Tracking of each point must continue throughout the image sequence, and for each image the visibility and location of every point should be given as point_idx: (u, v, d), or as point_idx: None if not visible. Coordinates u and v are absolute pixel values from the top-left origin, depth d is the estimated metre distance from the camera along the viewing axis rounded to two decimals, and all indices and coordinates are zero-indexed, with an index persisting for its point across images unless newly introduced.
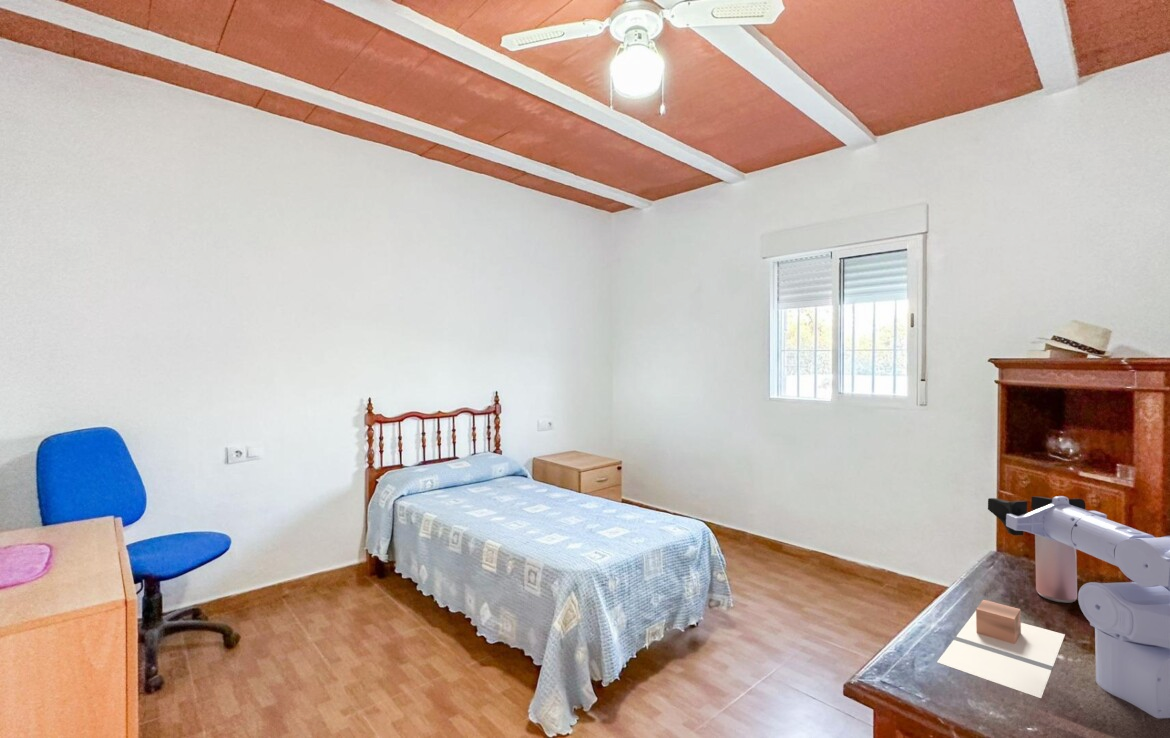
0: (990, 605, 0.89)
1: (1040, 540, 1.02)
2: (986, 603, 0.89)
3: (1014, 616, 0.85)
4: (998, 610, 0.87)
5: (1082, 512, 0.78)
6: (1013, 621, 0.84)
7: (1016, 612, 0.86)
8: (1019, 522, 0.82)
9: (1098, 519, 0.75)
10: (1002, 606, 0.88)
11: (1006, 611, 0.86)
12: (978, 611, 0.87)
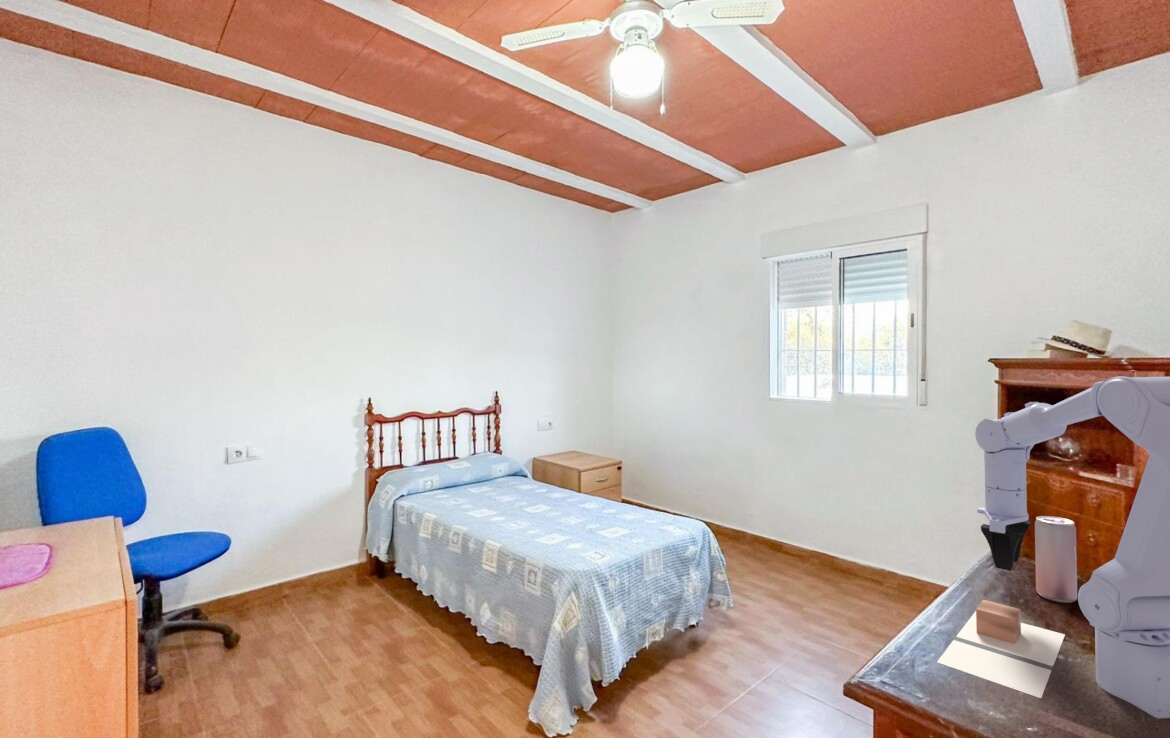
0: (990, 605, 0.89)
1: (1040, 540, 1.02)
2: (986, 603, 0.89)
3: (1014, 616, 0.85)
4: (998, 610, 0.87)
5: None
6: (1013, 621, 0.84)
7: (1016, 612, 0.86)
8: None
9: None
10: (1002, 606, 0.88)
11: (1006, 611, 0.86)
12: (978, 611, 0.87)
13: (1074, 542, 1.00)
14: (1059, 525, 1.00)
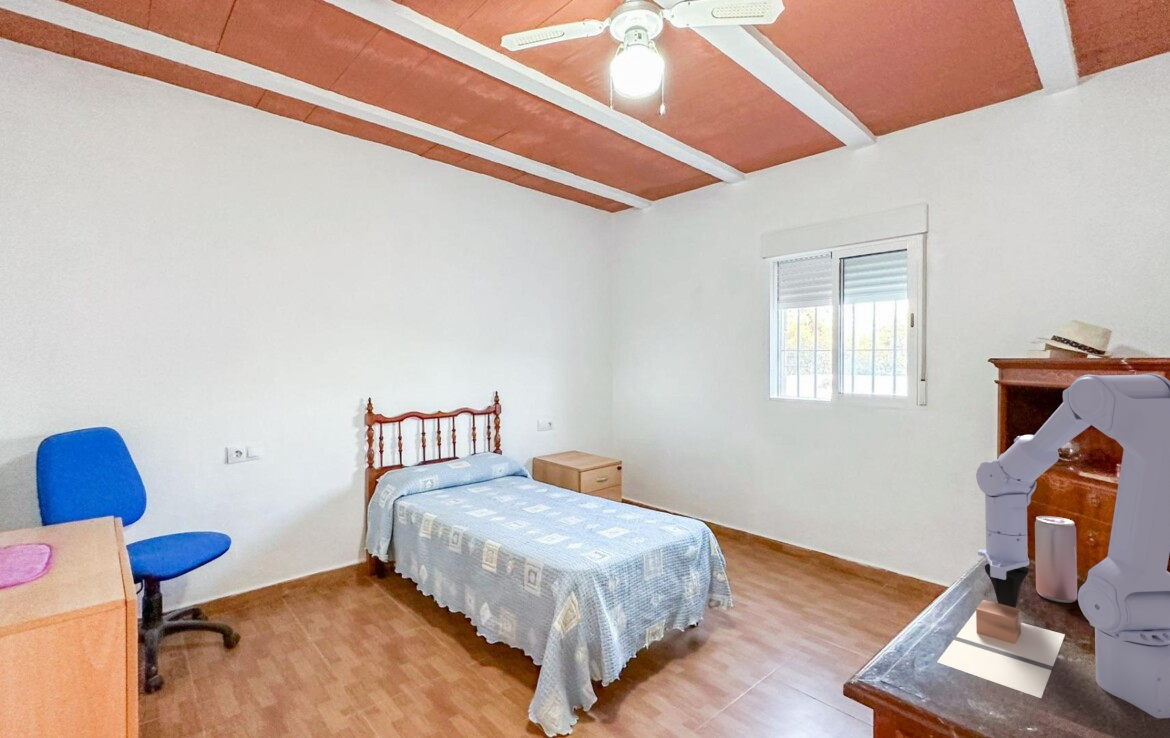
0: (990, 605, 0.89)
1: (1040, 540, 1.02)
2: (986, 603, 0.89)
3: (1014, 616, 0.85)
4: (998, 610, 0.87)
5: None
6: (1013, 621, 0.84)
7: (1016, 612, 0.86)
8: None
9: None
10: (1002, 606, 0.88)
11: (1006, 611, 0.86)
12: (978, 611, 0.87)
13: (1074, 542, 1.00)
14: (1059, 525, 1.00)
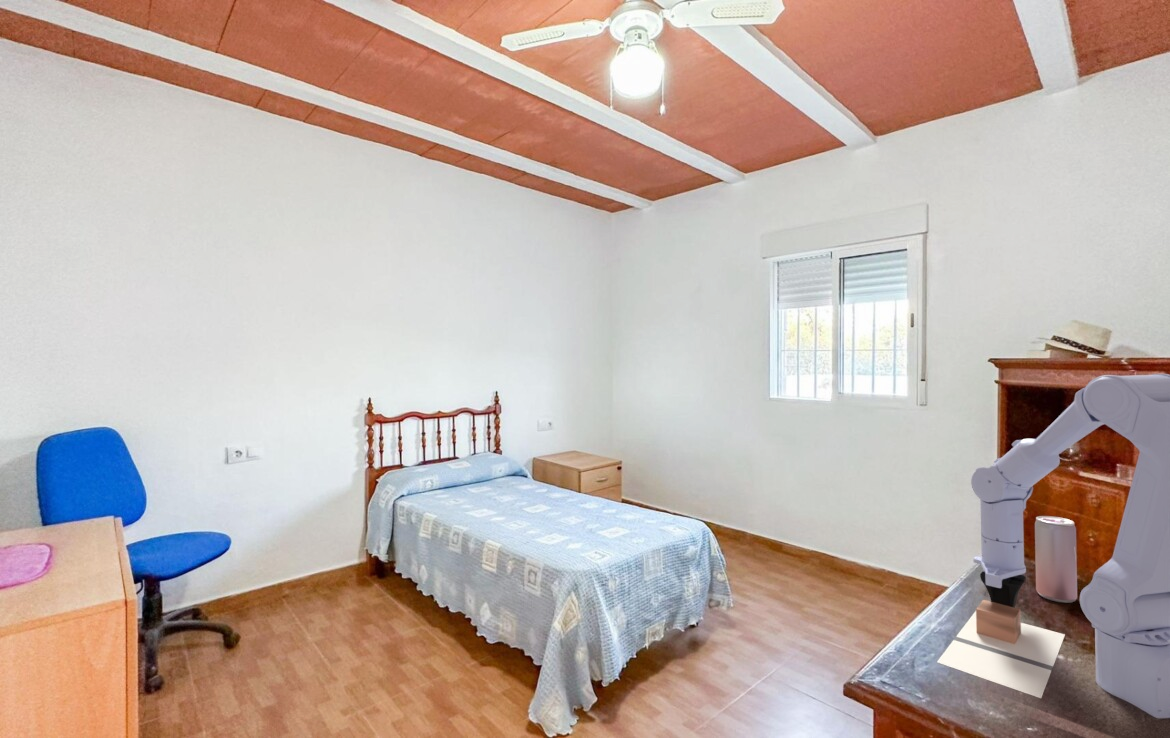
0: (990, 605, 0.89)
1: (1040, 540, 1.02)
2: (986, 603, 0.89)
3: (1014, 616, 0.85)
4: (998, 610, 0.87)
5: None
6: (1013, 621, 0.84)
7: (1016, 612, 0.86)
8: None
9: None
10: (1002, 606, 0.88)
11: (1006, 611, 0.86)
12: (978, 611, 0.87)
13: (1074, 542, 1.00)
14: (1059, 525, 1.00)
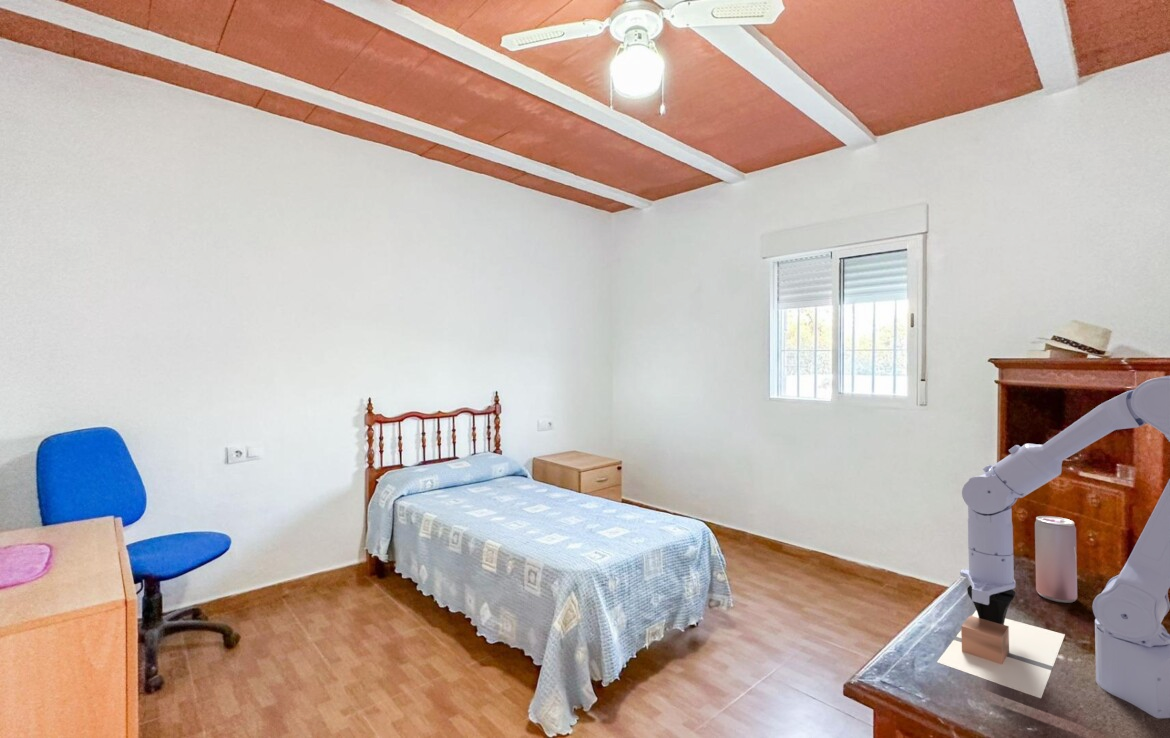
0: (976, 622, 0.83)
1: (1040, 540, 1.02)
2: (972, 619, 0.84)
3: (1001, 634, 0.79)
4: (984, 627, 0.81)
5: None
6: (1000, 640, 0.78)
7: (1004, 630, 0.81)
8: (979, 590, 0.80)
9: (968, 535, 0.86)
10: (989, 623, 0.83)
11: (993, 629, 0.81)
12: (963, 628, 0.82)
13: (1074, 542, 1.00)
14: (1059, 525, 1.00)
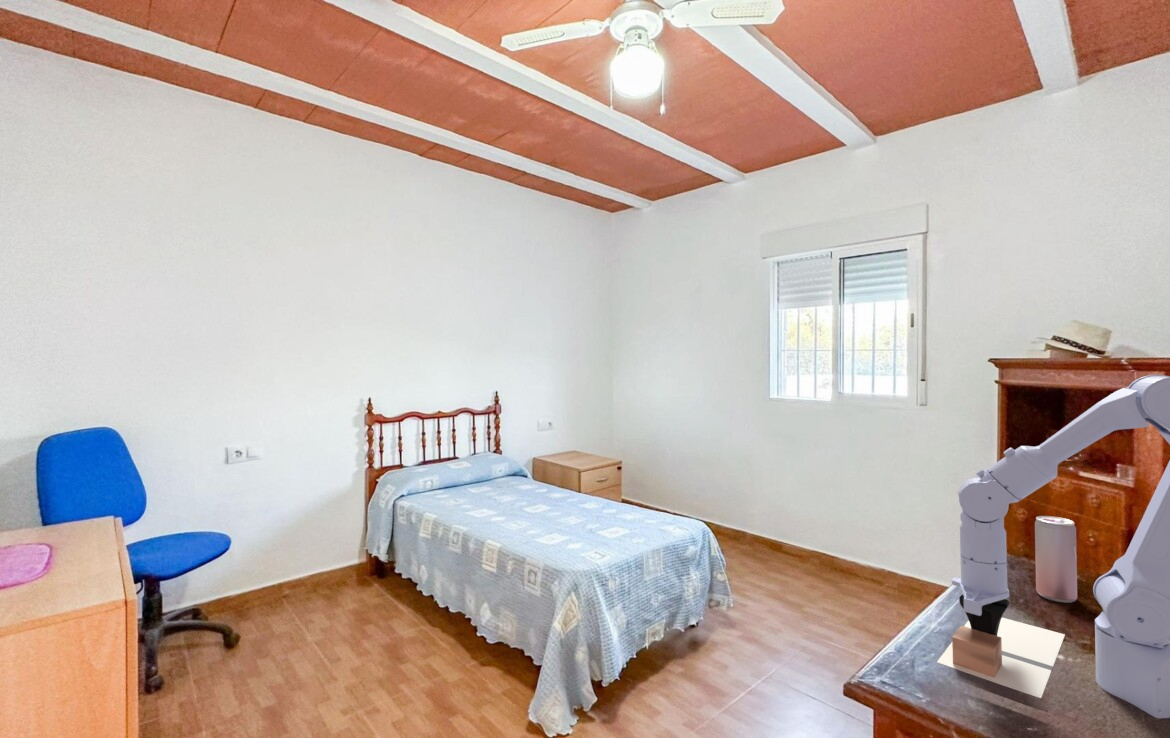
0: (968, 633, 0.80)
1: (1040, 540, 1.02)
2: (964, 630, 0.81)
3: (994, 646, 0.76)
4: (976, 638, 0.78)
5: None
6: (992, 652, 0.75)
7: (996, 641, 0.77)
8: (971, 600, 0.77)
9: (960, 544, 0.82)
10: (981, 634, 0.79)
11: (985, 640, 0.78)
12: (954, 639, 0.79)
13: (1074, 542, 1.00)
14: (1059, 525, 1.00)
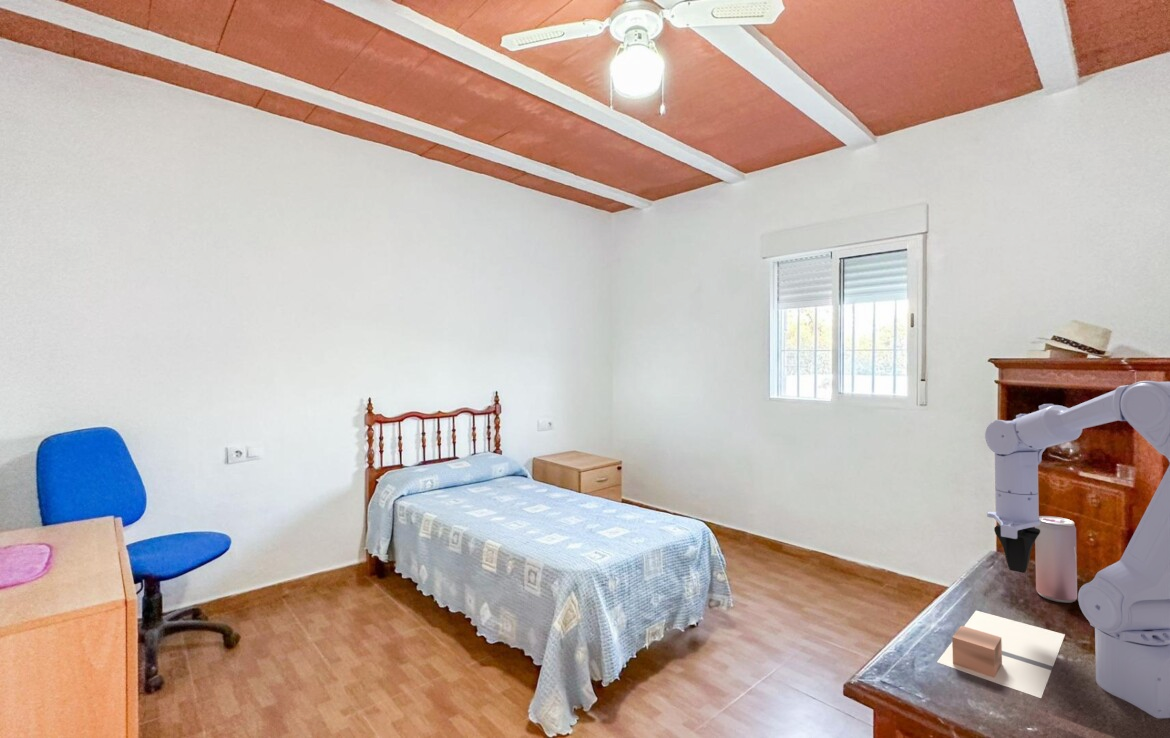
0: (968, 633, 0.80)
1: (1040, 540, 1.02)
2: (964, 630, 0.81)
3: (994, 646, 0.76)
4: (976, 638, 0.78)
5: None
6: (992, 652, 0.75)
7: (996, 641, 0.77)
8: None
9: None
10: (981, 634, 0.79)
11: (985, 640, 0.78)
12: (954, 640, 0.79)
13: (1074, 542, 1.00)
14: (1059, 525, 1.00)
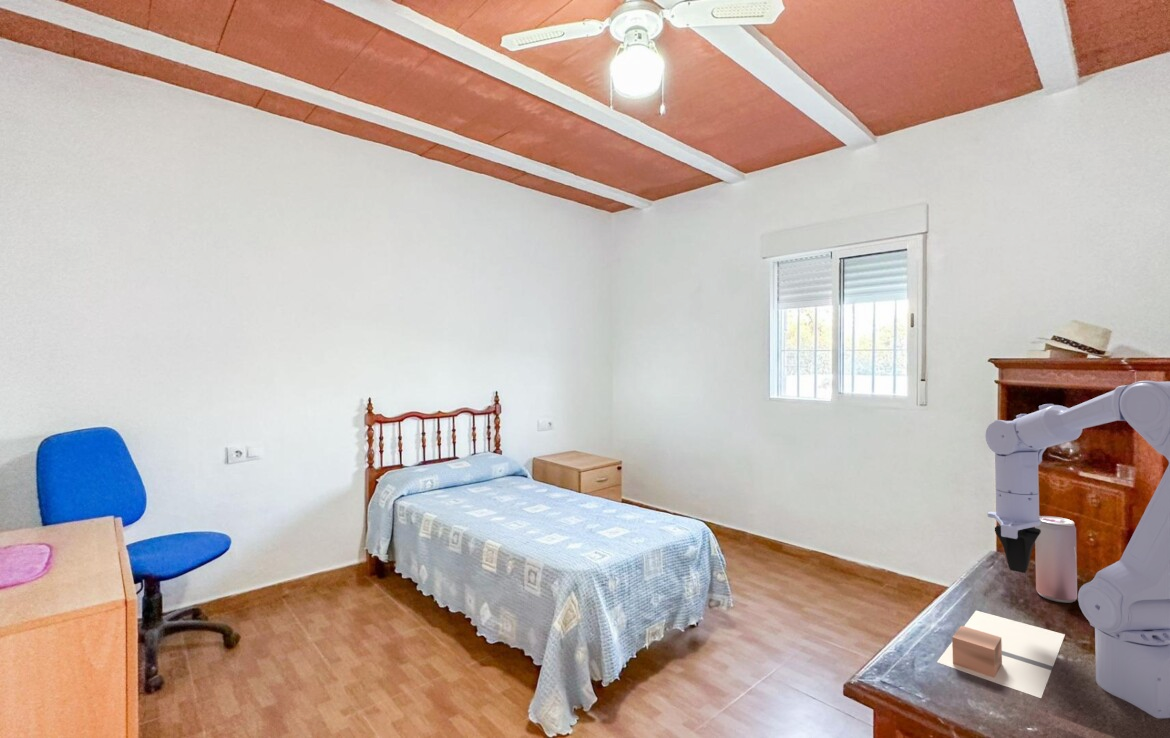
0: (968, 633, 0.80)
1: (1040, 540, 1.02)
2: (964, 630, 0.81)
3: (994, 646, 0.76)
4: (976, 638, 0.78)
5: None
6: (992, 652, 0.75)
7: (996, 641, 0.77)
8: None
9: None
10: (981, 634, 0.79)
11: (985, 640, 0.78)
12: (954, 640, 0.79)
13: (1074, 542, 1.00)
14: (1059, 525, 1.00)
